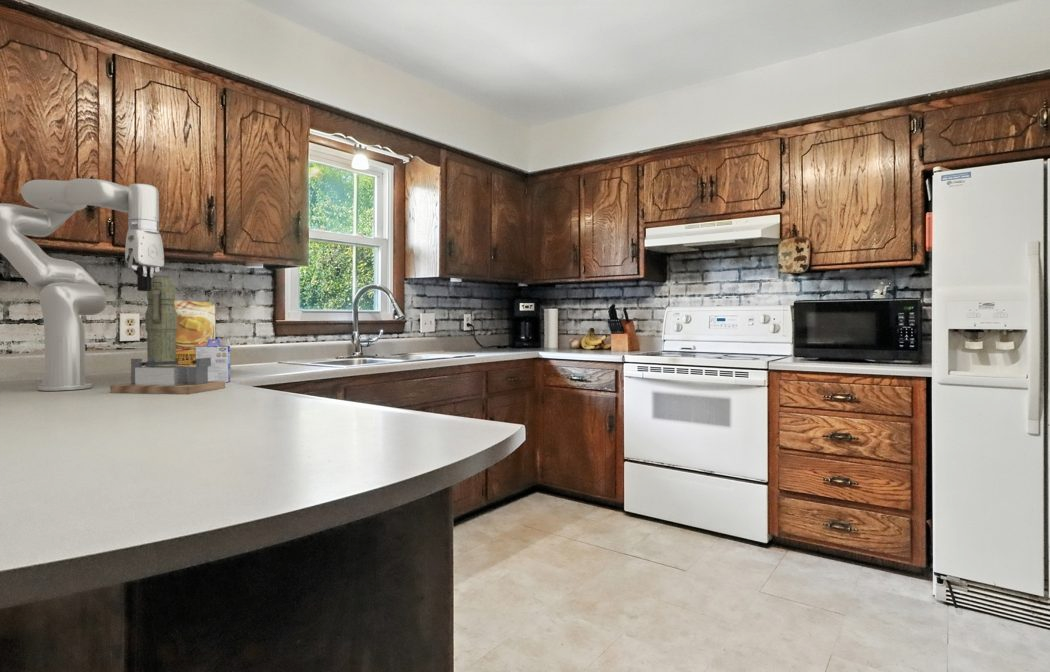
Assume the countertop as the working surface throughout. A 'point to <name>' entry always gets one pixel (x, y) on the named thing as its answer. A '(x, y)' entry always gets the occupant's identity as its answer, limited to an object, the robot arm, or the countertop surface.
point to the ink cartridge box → (216, 360)
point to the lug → (199, 371)
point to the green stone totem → (161, 320)
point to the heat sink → (162, 375)
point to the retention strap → (169, 362)
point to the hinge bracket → (139, 365)
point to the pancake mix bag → (193, 327)
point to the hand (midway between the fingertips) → (144, 290)
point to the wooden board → (167, 388)
